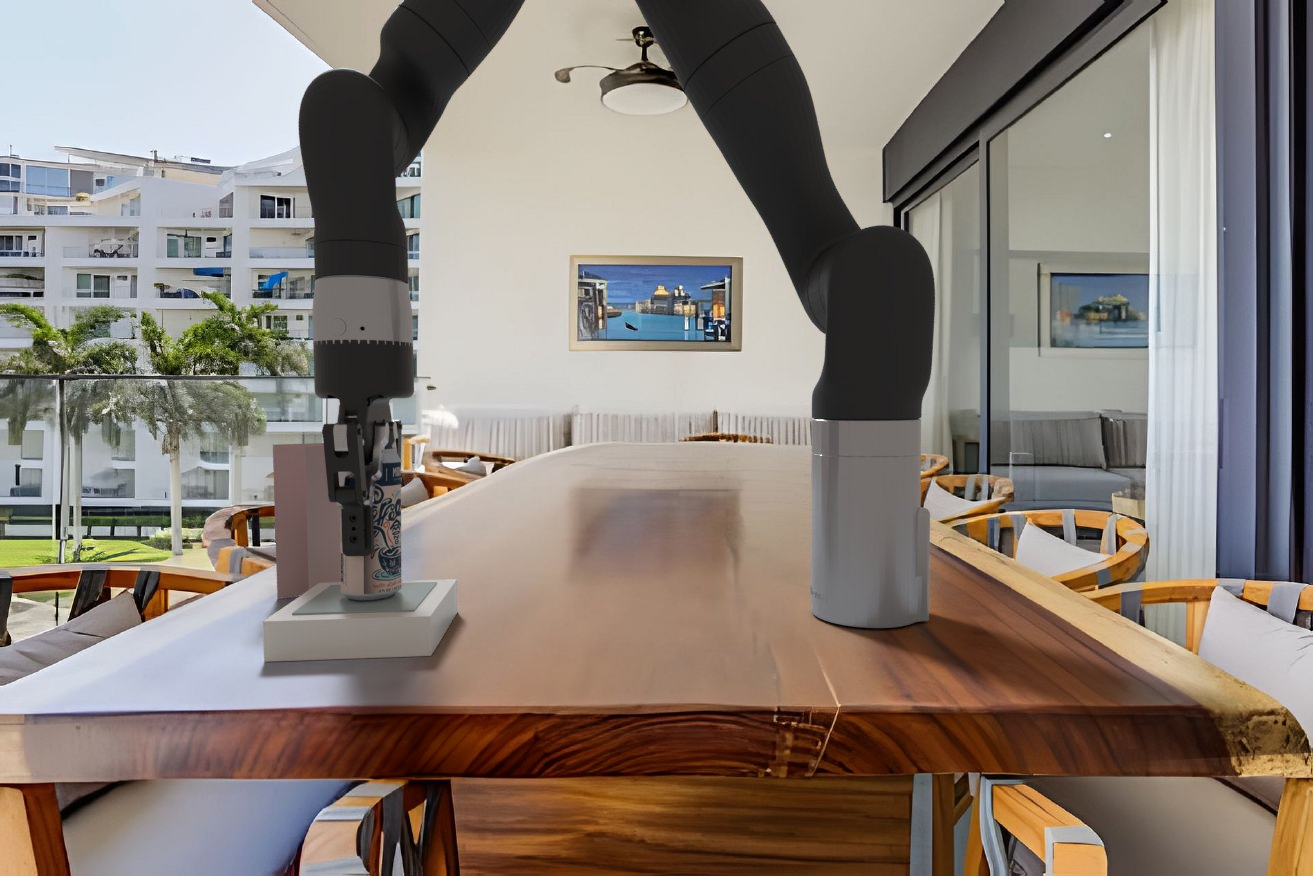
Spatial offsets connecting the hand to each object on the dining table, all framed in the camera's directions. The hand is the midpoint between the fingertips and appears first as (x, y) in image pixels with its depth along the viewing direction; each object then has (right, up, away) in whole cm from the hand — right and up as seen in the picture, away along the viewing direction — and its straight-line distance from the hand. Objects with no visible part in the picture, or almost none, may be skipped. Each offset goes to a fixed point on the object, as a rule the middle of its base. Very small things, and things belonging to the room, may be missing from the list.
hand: (369, 547), depth 63 cm
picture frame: (0, -7, 0) cm, 7 cm away
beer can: (0, -4, 0) cm, 4 cm away
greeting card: (-7, -7, +13) cm, 16 cm away
